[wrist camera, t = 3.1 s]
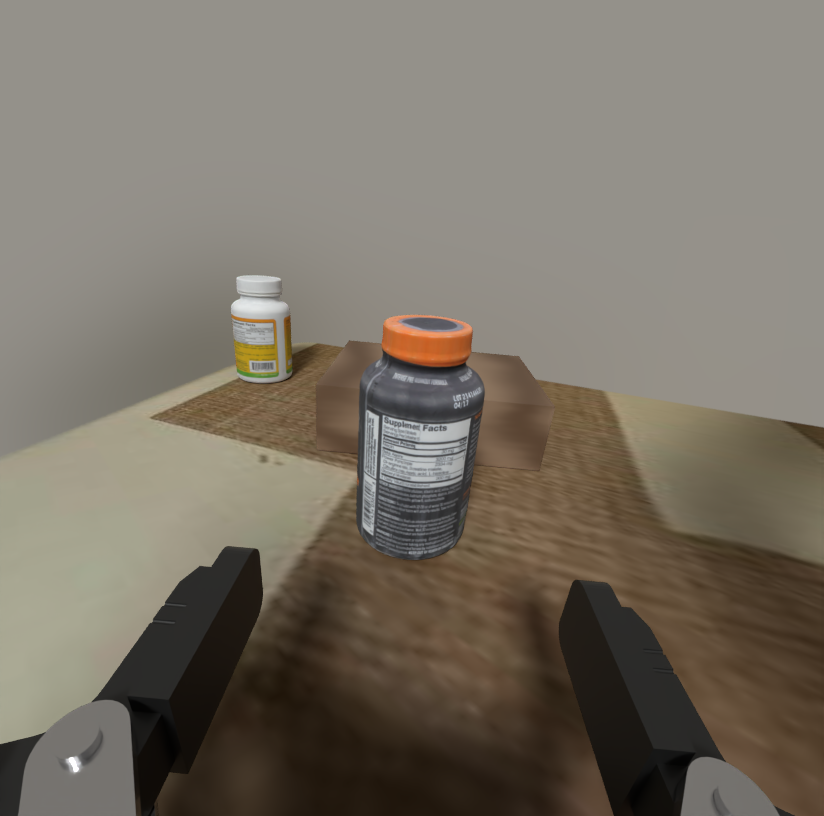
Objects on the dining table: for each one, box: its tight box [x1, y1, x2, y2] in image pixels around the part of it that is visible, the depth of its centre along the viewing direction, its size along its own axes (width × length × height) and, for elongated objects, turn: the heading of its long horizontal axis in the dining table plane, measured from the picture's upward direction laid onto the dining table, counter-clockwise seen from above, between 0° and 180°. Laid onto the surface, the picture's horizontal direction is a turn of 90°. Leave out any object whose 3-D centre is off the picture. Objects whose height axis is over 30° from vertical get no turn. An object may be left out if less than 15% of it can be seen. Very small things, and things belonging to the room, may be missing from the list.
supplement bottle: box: [231, 276, 292, 383], centre depth 40 cm, size 5×5×10 cm
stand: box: [316, 341, 555, 471], centre depth 33 cm, size 16×12×5 cm
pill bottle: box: [356, 315, 485, 560], centre depth 20 cm, size 6×6×11 cm
